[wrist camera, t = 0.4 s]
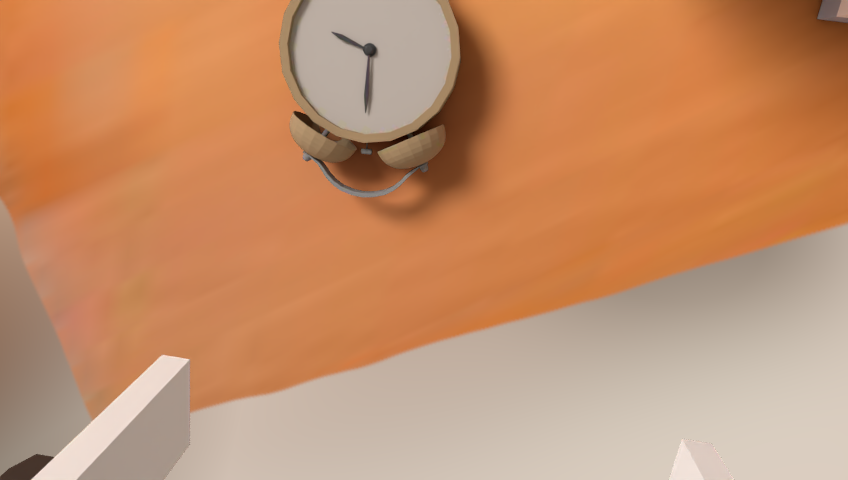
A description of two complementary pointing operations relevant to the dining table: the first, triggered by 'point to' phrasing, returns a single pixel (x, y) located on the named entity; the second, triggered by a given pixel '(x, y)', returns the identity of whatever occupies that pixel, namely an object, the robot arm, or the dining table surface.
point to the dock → (834, 10)
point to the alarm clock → (369, 78)
